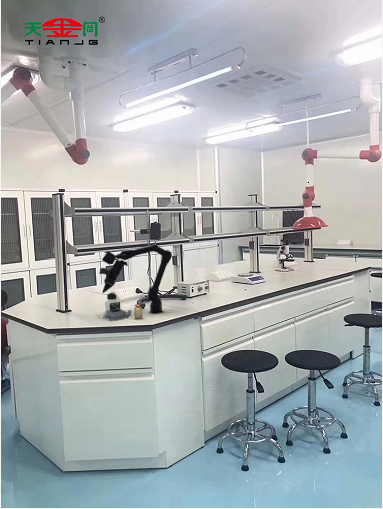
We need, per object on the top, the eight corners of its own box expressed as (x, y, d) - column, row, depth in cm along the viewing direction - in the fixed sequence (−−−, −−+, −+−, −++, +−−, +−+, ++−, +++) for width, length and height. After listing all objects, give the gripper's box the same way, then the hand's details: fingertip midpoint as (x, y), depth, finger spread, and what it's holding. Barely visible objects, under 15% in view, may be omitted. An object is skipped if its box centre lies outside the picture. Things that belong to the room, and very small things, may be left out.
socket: (125, 313, 249) (125, 306, 248) (134, 316, 240) (134, 309, 239) (103, 317, 240) (102, 310, 239) (111, 321, 231) (111, 314, 230)
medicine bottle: (110, 314, 248) (109, 295, 247) (105, 312, 253) (104, 293, 252) (120, 312, 252) (119, 293, 251) (115, 310, 258) (114, 291, 256)
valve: (140, 317, 238) (139, 303, 237) (143, 318, 235) (143, 304, 234) (133, 318, 236) (132, 304, 235) (137, 320, 232) (136, 306, 231)
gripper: (105, 260, 251) (93, 282, 251) (103, 263, 233) (89, 287, 233) (121, 269, 253) (108, 290, 253) (120, 273, 235) (107, 296, 235)
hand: (103, 291), depth 244 cm, fingers open, 9 cm apart
